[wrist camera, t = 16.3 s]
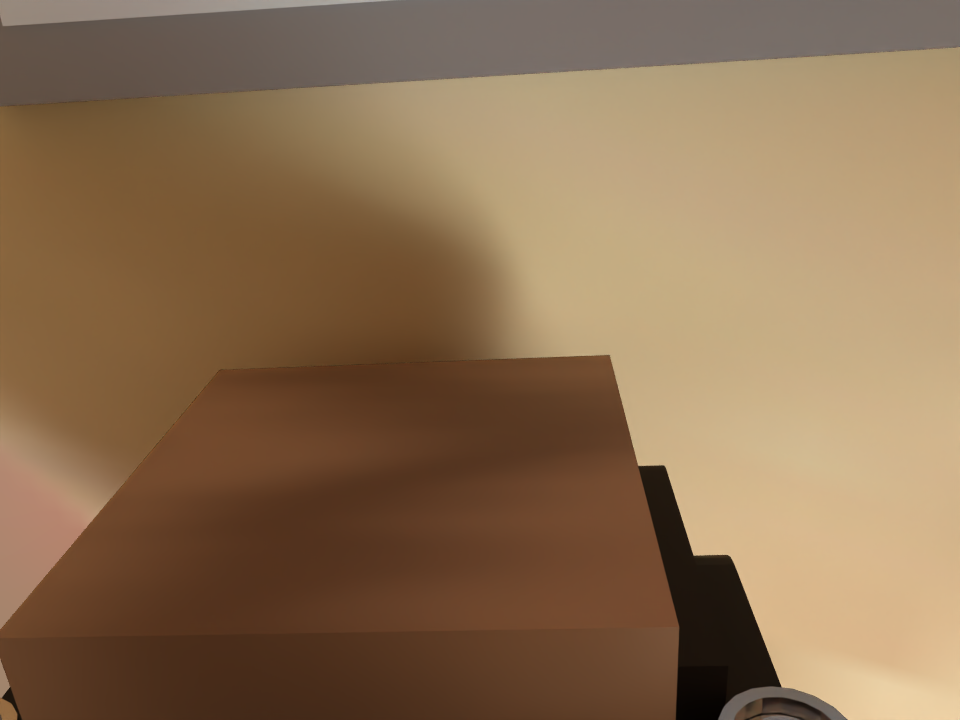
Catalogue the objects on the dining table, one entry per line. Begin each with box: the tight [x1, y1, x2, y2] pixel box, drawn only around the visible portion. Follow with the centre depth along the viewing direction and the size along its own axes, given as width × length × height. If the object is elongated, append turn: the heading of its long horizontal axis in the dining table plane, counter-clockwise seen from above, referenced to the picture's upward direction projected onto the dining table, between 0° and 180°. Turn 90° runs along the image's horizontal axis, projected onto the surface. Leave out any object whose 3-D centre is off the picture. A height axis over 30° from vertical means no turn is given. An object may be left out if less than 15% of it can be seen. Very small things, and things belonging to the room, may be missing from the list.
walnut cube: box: [0, 355, 679, 720], centre depth 10 cm, size 6×6×6 cm
